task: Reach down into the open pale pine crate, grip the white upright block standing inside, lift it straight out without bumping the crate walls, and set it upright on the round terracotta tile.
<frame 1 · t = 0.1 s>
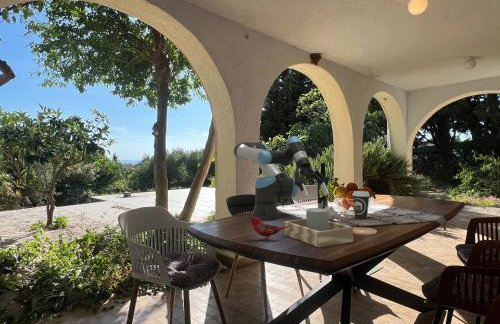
hand: (316, 195, 176), 15 cm above the table, tool tilted 35°, fingers open, 13 cm apart
terracotta tile: (363, 232, 160), on the table
decorative bird figurine: (269, 240, 145), on the table
coffee cup: (360, 218, 194), on the table
white upright block: (317, 238, 149), resting in pine crate
grey rock: (328, 221, 187), on the table
pine crate: (317, 237, 149), on the table
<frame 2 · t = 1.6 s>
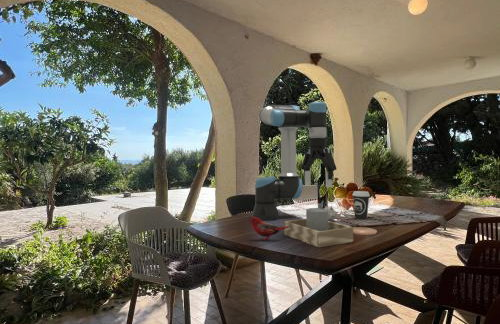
hand: (317, 186, 150), 23 cm above the table, tool pointing down, fingers open, 13 cm apart
nothing on the table moved.
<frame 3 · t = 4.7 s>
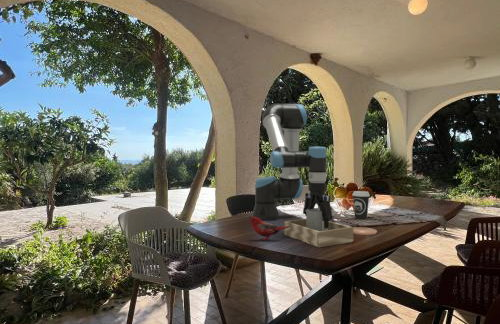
hand: (317, 233, 149), 2 cm above the table, tool pointing down, fingers closed on white upright block, 9 cm apart
white upright block: (317, 238, 149), resting in pine crate, touching gripper
everything else where it was.
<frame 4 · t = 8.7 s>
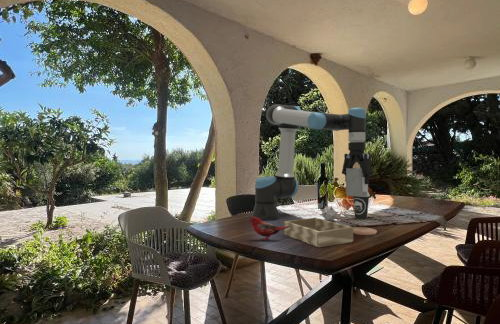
hand: (356, 190, 157), 20 cm above the table, tool pointing down, fingers closed on white upright block, 9 cm apart
white upright block: (356, 195, 158), point 17 cm above the table, touching gripper
everything else where it was.
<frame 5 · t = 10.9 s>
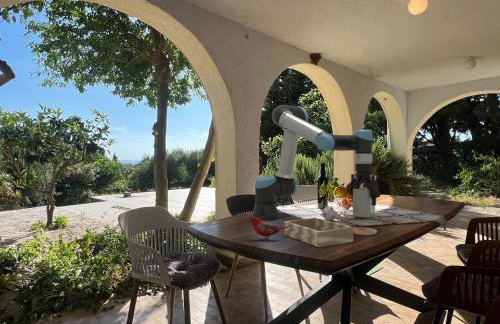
hand: (363, 210, 160), 10 cm above the table, tool pointing down, fingers closed on white upright block, 9 cm apart
white upright block: (363, 215, 160), point 8 cm above the table, touching gripper
everything else where it was.
when the fingers open (5 cm above the table, at t = 12.9 s): white upright block drops 1 cm, resting on terracotta tile.
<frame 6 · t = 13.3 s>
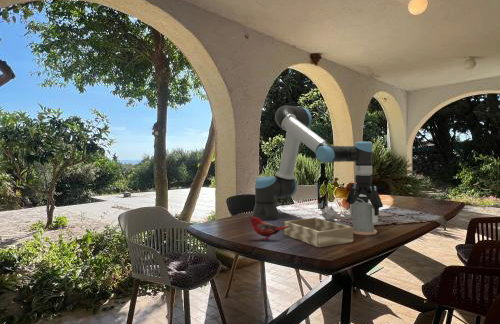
hand: (363, 220, 160), 6 cm above the table, tool pointing down, fingers open, 13 cm apart
white upright block: (363, 230, 160), point 1 cm above the table, touching terracotta tile
everything else where it was.
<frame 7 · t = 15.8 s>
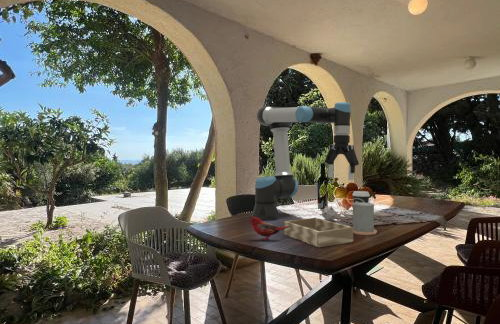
hand: (340, 178, 166), 25 cm above the table, tool pointing down, fingers open, 13 cm apart
nothing on the table moved.
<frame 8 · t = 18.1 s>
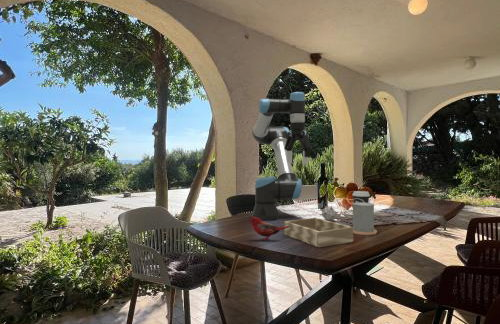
hand: (297, 163, 178), 32 cm above the table, tool pointing down, fingers open, 13 cm apart
nothing on the table moved.
at the end: white upright block 0.1 cm from the terracotta tile (horizontally); white upright block tilted 0°; pine crate moved 0.0 cm from its start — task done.
